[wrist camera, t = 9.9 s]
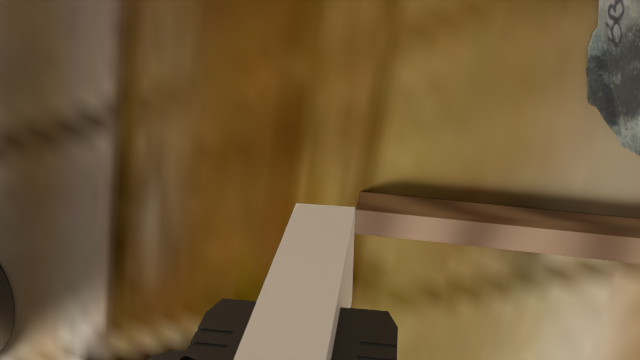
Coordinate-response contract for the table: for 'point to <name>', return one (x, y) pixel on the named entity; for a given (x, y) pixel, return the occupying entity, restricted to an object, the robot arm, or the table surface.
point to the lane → (499, 227)
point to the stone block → (617, 69)
